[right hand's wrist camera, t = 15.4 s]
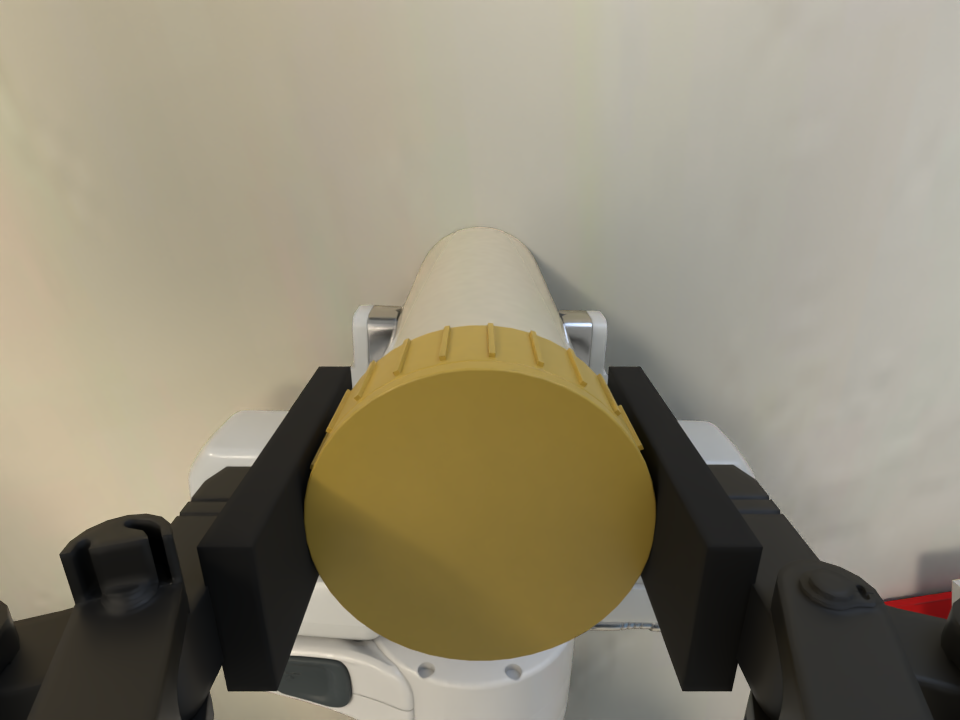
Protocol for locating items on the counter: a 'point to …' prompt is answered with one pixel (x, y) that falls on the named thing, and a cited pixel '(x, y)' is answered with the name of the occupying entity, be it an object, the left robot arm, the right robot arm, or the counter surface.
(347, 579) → the lid
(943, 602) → the toy
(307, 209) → the counter surface
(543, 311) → the jar
